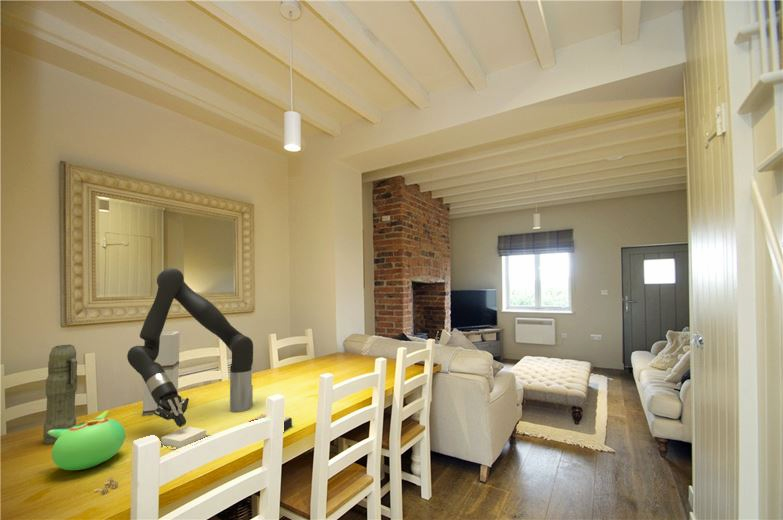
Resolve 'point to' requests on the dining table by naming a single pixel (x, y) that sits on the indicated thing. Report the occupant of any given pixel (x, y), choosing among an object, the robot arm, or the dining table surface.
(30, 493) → the dining table surface
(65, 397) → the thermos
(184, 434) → the tile
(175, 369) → the grooved grey pillar
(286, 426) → the calculator
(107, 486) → the dice set
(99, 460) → the green eared figurine
